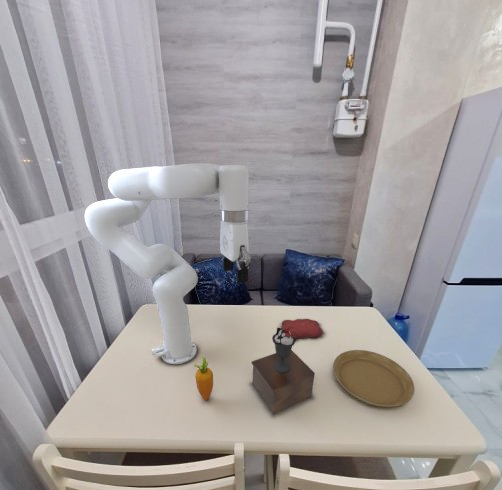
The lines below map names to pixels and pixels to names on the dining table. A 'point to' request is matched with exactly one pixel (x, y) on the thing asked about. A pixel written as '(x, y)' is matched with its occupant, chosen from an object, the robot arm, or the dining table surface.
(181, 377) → the dining table surface
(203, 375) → the carrot
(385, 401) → the plant saucer
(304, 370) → the brown box lid
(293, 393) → the container
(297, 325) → the patty
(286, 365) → the sundae
